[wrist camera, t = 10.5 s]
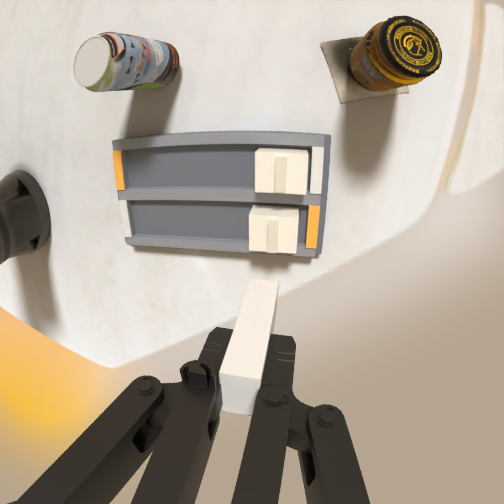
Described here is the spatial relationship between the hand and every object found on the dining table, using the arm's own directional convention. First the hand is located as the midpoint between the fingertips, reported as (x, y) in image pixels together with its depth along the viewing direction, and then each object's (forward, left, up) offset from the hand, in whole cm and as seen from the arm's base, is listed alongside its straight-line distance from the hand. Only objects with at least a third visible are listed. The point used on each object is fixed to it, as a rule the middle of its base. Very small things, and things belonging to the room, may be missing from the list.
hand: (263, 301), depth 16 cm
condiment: (+9, +16, -20) cm, 27 cm away
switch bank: (-8, +1, -20) cm, 21 cm away
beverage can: (-15, +16, -20) cm, 30 cm away
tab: (-1, -2, -18) cm, 18 cm away
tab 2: (0, +4, -18) cm, 19 cm away
